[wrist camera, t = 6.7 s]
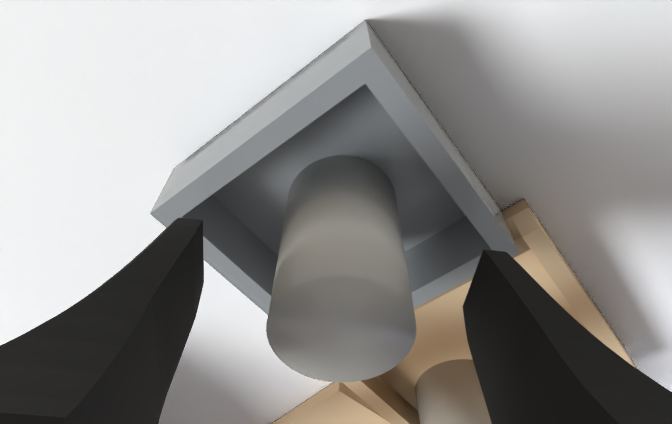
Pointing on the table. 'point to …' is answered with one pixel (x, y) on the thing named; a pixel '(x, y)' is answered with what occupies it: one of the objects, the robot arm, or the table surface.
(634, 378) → the robot arm
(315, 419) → the oak lid
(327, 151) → the slate dish
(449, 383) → the grey capsule cylinder
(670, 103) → the table surface
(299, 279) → the pale grey capsule
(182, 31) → the table surface
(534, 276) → the oak box
